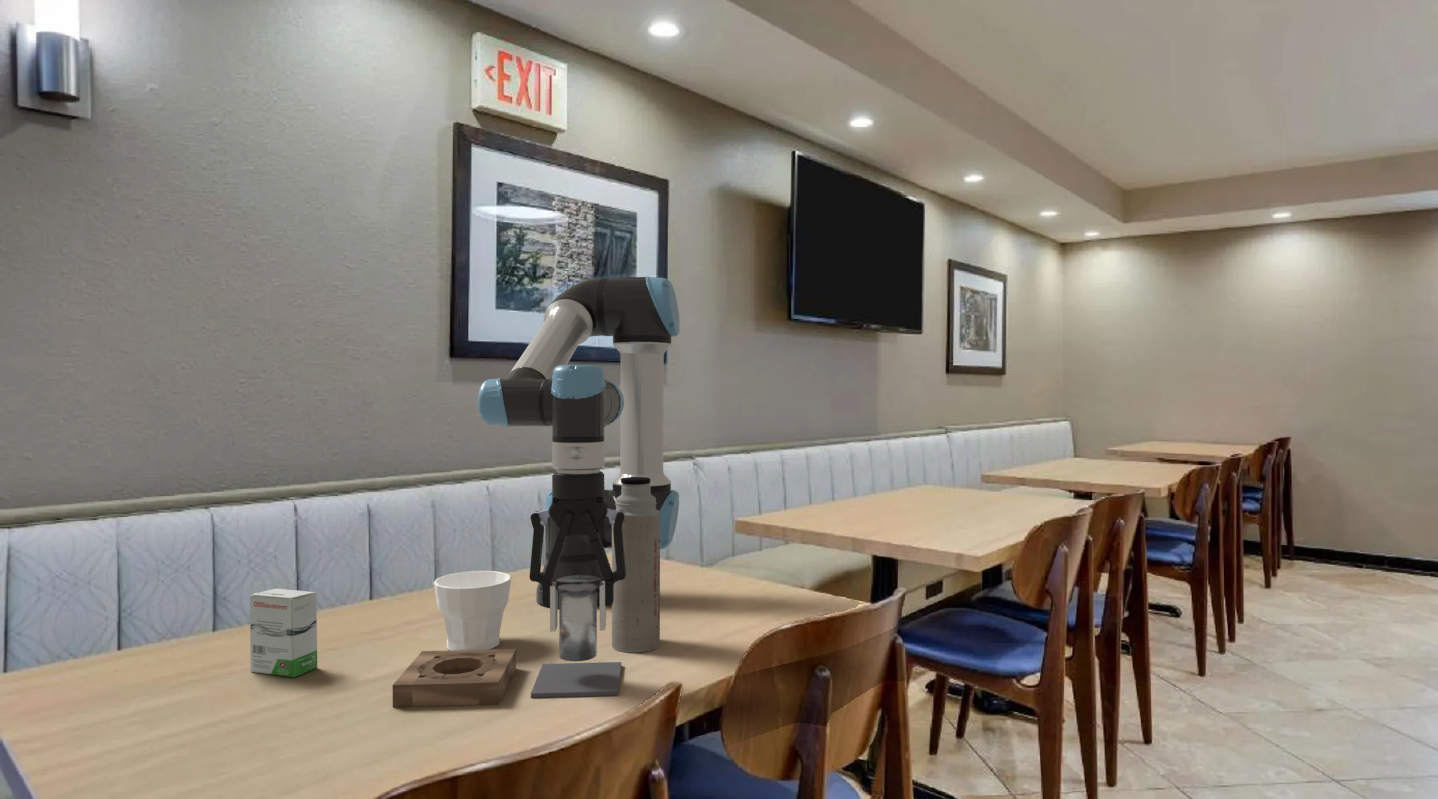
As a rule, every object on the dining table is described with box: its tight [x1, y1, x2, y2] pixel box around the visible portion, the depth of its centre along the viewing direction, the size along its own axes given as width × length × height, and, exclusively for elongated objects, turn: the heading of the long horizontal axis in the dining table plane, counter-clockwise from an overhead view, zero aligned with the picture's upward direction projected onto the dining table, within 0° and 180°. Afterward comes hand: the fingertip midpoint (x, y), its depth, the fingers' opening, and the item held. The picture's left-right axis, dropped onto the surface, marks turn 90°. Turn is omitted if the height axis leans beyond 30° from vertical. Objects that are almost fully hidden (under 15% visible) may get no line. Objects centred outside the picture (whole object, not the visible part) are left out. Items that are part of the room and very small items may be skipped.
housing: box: [392, 648, 517, 708], centre depth 117 cm, size 14×14×3 cm
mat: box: [530, 661, 622, 699], centre depth 120 cm, size 12×12×1 cm
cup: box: [433, 570, 512, 651], centre depth 136 cm, size 12×12×11 cm
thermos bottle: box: [611, 477, 661, 653], centre depth 136 cm, size 8×8×28 cm
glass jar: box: [556, 575, 600, 662], centre depth 119 cm, size 6×6×11 cm
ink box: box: [249, 587, 318, 678], centre depth 124 cm, size 9×5×12 cm, turn 71°
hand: (578, 627), depth 119 cm, fingers closed on glass jar, 6 cm apart
